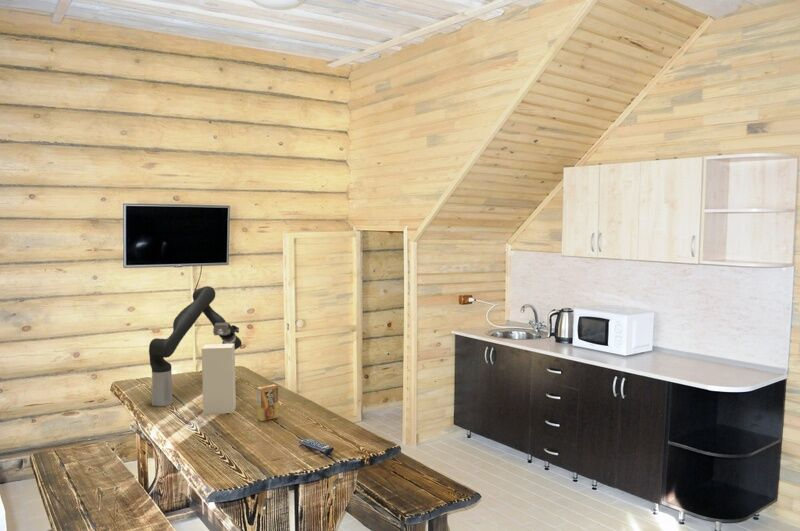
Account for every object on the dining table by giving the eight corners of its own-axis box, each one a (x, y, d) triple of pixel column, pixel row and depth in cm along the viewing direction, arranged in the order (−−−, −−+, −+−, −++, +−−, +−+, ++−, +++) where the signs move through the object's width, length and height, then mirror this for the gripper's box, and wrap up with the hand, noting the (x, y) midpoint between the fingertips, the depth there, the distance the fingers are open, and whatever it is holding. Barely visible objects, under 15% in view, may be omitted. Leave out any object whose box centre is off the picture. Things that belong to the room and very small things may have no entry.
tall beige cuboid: (203, 414, 302) (201, 348, 299) (206, 408, 312) (205, 344, 309) (233, 413, 304) (231, 347, 301) (235, 406, 314) (234, 343, 311)
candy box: (274, 415, 301) (273, 383, 299) (278, 417, 297) (278, 385, 296) (257, 419, 295) (256, 387, 294) (261, 421, 292) (261, 389, 290)
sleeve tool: (214, 335, 312) (213, 325, 311) (219, 328, 331) (219, 318, 330) (226, 335, 313) (226, 325, 312) (231, 327, 331) (231, 318, 331)
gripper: (214, 328, 340) (210, 318, 325) (241, 328, 342) (238, 317, 327) (214, 342, 337) (209, 331, 322) (241, 341, 339) (237, 331, 324)
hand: (223, 324), depth 324 cm, fingers closed on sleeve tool, 3 cm apart
